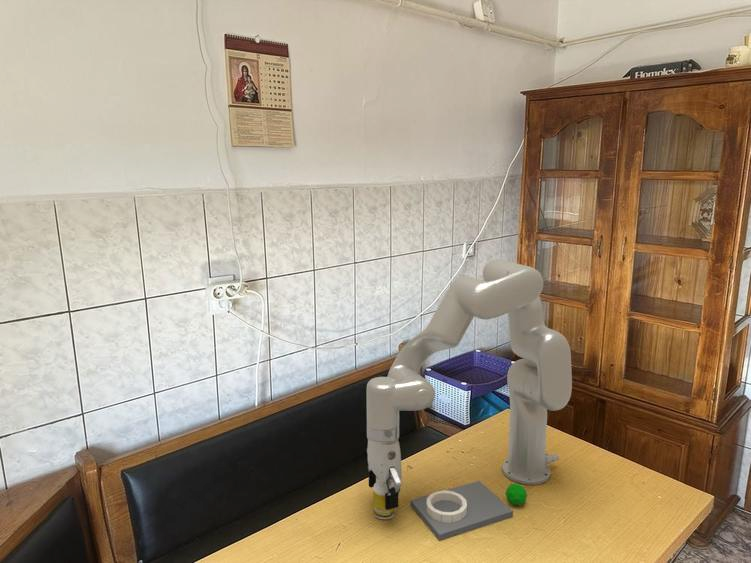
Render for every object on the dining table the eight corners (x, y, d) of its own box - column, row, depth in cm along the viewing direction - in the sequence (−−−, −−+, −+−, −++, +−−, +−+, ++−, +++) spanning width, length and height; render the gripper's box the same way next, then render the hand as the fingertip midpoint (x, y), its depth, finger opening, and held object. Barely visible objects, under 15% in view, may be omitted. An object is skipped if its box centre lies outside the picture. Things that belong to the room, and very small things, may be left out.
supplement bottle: (393, 521, 126) (393, 484, 124) (371, 519, 127) (370, 481, 125) (397, 507, 131) (397, 471, 129) (376, 505, 132) (375, 469, 130)
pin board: (479, 485, 139) (479, 473, 138) (512, 516, 127) (513, 503, 126) (410, 505, 132) (410, 492, 131) (439, 540, 119) (439, 526, 118)
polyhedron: (503, 497, 134) (503, 480, 133) (522, 496, 134) (522, 479, 133) (509, 510, 129) (510, 492, 128) (529, 508, 130) (530, 491, 129)
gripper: (414, 444, 118) (413, 513, 121) (382, 412, 134) (382, 474, 137) (383, 451, 115) (383, 521, 119) (354, 418, 131) (355, 481, 134)
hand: (383, 496), depth 128 cm, fingers open, 9 cm apart
